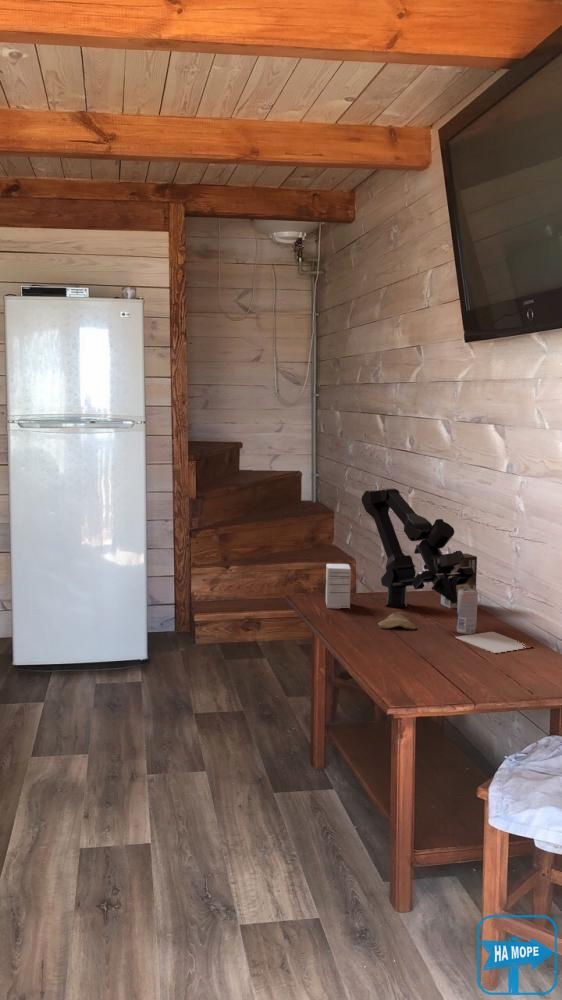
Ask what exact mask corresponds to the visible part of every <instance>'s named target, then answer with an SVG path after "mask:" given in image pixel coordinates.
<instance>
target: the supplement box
mask: <svg viewBox="0 0 562 1000" xmlns="http://www.w3.org/2000/svg"><path fill="white" fill-rule="evenodd" d="M325 567H326V568H325V569H326V571H325V604H326V608H327V609H340V608H349V609H351V590H352V589H351V586H352V585H351V584H352V583H351V581H352V569H351V566H350V564H349V563H326V565H325Z"/></svg>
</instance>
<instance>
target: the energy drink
mask: <svg viewBox="0 0 562 1000" xmlns="http://www.w3.org/2000/svg"><path fill="white" fill-rule="evenodd" d="M478 595H479V594H478V590H477V588H476V589H472V588H461V589H459V591H458V605H457V608H456V610H457V611H456V628H455V629H456V630H455V631H456V632H457V633H458V634H462V635H472V634H476V632H477V622H478V621H477V617H478V598H479V596H478Z"/></svg>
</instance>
